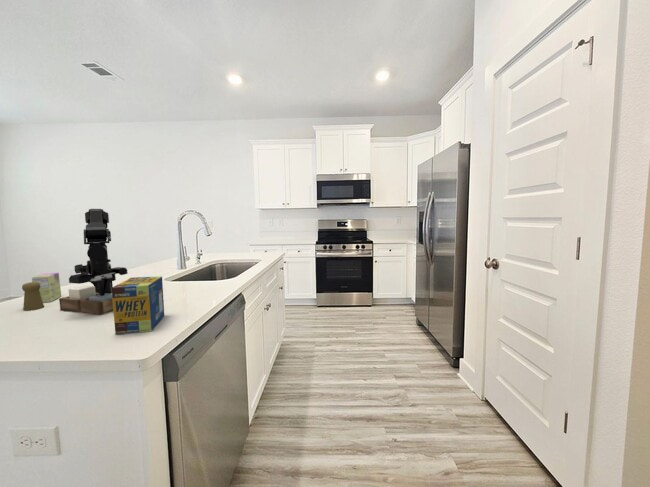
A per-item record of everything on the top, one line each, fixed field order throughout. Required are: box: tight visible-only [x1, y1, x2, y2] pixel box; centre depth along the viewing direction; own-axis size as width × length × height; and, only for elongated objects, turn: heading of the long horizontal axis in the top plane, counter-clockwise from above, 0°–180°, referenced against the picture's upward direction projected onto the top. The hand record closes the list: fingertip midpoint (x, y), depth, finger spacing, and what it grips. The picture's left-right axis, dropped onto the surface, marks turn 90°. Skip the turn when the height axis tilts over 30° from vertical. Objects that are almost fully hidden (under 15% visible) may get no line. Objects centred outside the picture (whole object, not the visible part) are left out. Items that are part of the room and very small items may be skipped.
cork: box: [21, 281, 45, 312], centre depth 114 cm, size 6×6×11 cm
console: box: [58, 293, 113, 316], centre depth 113 cm, size 10×22×5 cm, turn 74°
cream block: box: [68, 285, 96, 299], centre depth 114 cm, size 6×6×4 cm
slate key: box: [89, 293, 112, 301], centre depth 111 cm, size 6×6×4 cm
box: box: [31, 272, 62, 304], centre depth 126 cm, size 10×6×12 cm, turn 25°
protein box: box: [111, 276, 165, 335], centre depth 95 cm, size 10×15×16 cm
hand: (102, 295), depth 111 cm, fingers closed, pressing on slate key
